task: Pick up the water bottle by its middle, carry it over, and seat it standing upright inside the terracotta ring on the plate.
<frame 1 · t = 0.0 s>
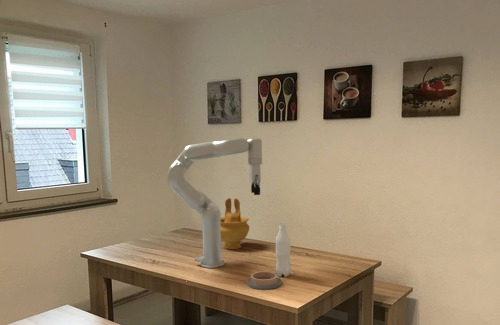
hand: (255, 193, 212), 37 cm above the table, tool pointing down, fingers open, 9 cm apart
ring plate: (264, 283, 181), on the table
decorative bowl: (232, 247, 246), on the table
water bottle: (283, 275, 192), on the table
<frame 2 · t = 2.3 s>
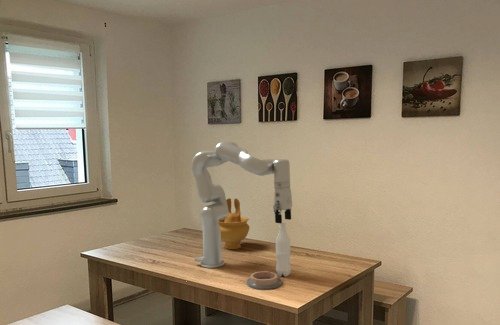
hand: (283, 221, 190), 26 cm above the table, tool pointing down, fingers open, 9 cm apart
nothing on the table moved.
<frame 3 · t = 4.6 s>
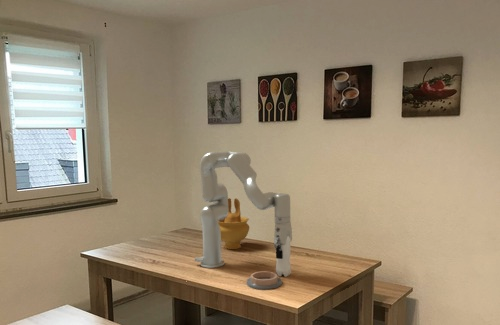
hand: (283, 256, 191), 9 cm above the table, tool pointing down, fingers closed on water bottle, 7 cm apart
water bottle: (283, 275, 192), on the table, touching gripper
everything else where it was.
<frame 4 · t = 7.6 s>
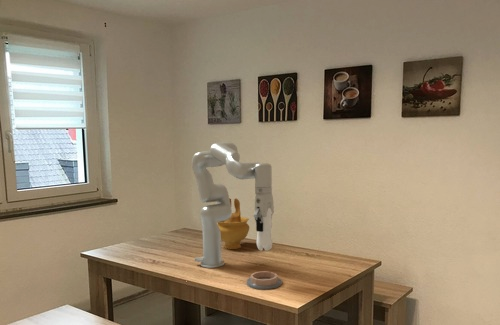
hand: (264, 229, 181), 25 cm above the table, tool pointing down, fingers closed on water bottle, 7 cm apart
water bottle: (264, 250, 181), point 15 cm above the table, touching gripper
everything else where it was.
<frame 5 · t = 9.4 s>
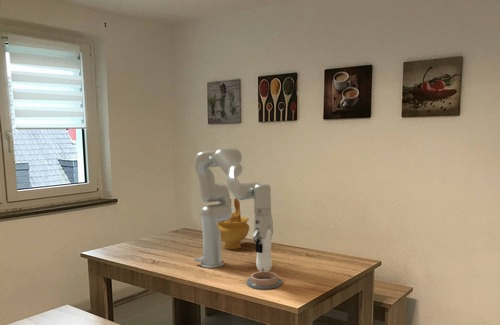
hand: (263, 250, 180), 15 cm above the table, tool pointing down, fingers closed on water bottle, 7 cm apart
water bottle: (264, 270, 181), point 6 cm above the table, touching gripper
everything else where it was.
when the fingers open (12 cm above the table, at t = 10.6 s): water bottle drops 2 cm, resting on ring plate.
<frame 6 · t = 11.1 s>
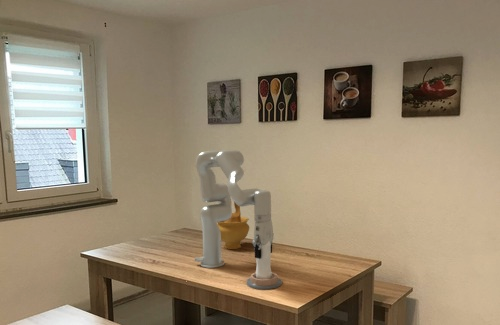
hand: (263, 255, 181), 13 cm above the table, tool pointing down, fingers open, 9 cm apart
water bottle: (263, 281, 181), point 1 cm above the table, touching ring plate
everything else where it was.
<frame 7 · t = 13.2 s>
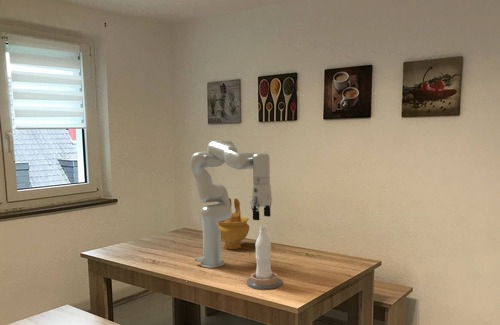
hand: (261, 218, 181), 30 cm above the table, tool pointing down, fingers open, 9 cm apart
nothing on the table moved.
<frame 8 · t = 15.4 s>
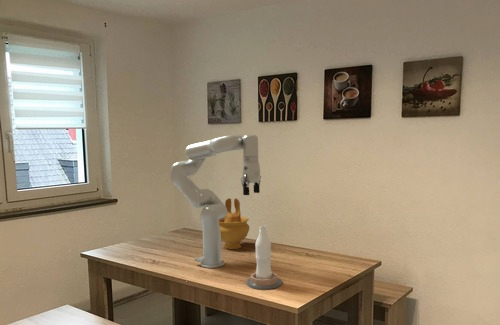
hand: (251, 193, 200), 38 cm above the table, tool pointing down, fingers open, 9 cm apart
nothing on the table moved.
at the end: water bottle 0.1 cm off-centre on the ring plate, point 0.8 cm above the ring plate's base; water bottle tilted 0°; the gripper is holding nothing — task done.
